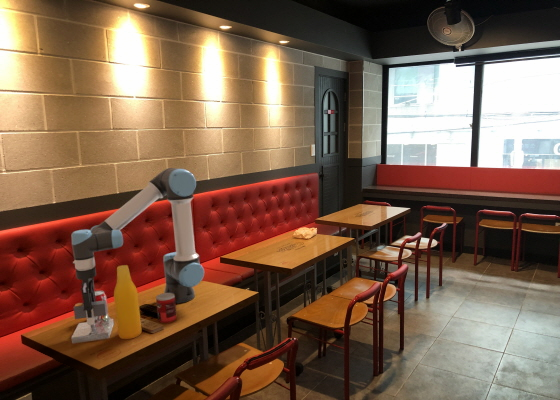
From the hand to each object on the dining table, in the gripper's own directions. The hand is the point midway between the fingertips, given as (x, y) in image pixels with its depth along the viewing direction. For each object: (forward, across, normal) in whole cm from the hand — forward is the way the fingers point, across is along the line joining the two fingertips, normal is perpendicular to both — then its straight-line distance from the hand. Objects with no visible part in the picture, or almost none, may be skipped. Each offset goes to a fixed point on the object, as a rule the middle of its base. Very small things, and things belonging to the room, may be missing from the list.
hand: (92, 321), depth 191 cm
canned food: (+5, -4, +30) cm, 31 cm away
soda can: (+5, -16, 0) cm, 17 cm away
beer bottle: (+5, +6, +15) cm, 17 cm away
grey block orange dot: (+2, 0, 0) cm, 2 cm away
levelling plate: (+5, 0, 0) cm, 5 cm away
